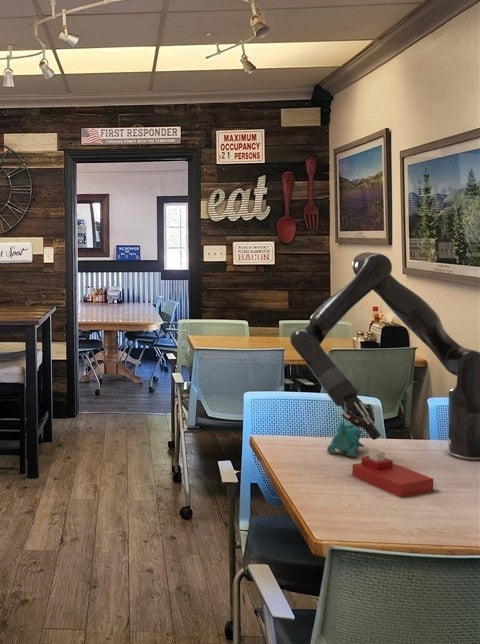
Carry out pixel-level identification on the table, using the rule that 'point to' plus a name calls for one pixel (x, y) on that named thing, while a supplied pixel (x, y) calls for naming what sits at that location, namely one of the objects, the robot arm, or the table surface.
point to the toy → (346, 440)
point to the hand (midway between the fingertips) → (377, 437)
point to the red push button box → (392, 477)
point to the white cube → (377, 455)
